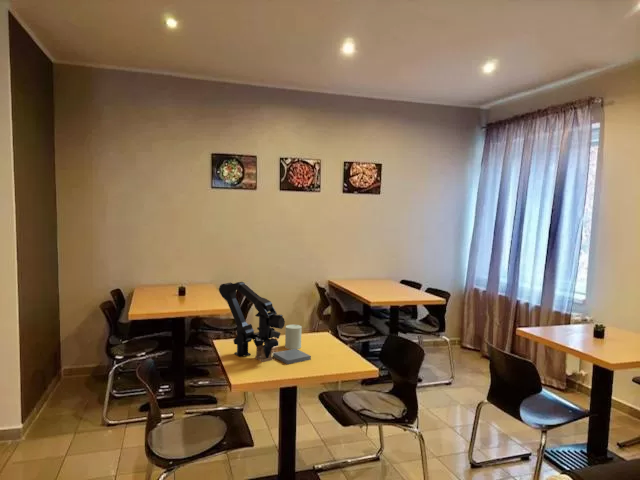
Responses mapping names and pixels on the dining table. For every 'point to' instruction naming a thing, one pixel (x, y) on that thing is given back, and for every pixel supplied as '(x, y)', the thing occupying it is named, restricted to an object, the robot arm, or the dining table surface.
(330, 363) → the dining table surface
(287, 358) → the slab
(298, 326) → the can
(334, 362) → the dining table surface
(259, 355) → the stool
